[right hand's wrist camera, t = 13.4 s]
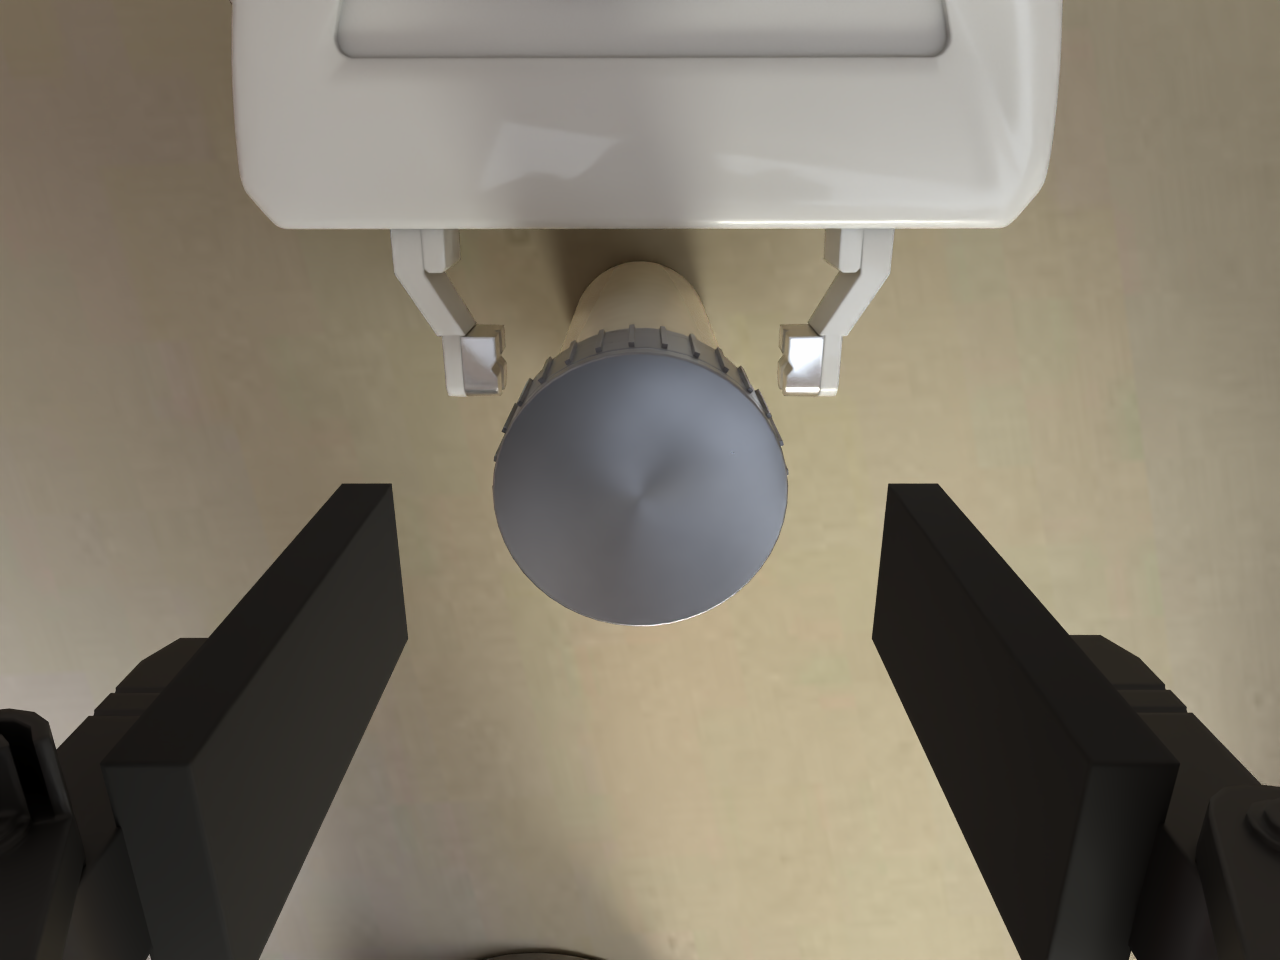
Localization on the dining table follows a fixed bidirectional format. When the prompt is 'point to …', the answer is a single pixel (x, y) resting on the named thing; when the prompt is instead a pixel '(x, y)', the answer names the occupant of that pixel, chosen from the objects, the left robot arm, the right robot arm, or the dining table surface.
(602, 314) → the bottle
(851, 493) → the dining table surface
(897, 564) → the right robot arm
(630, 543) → the lid
